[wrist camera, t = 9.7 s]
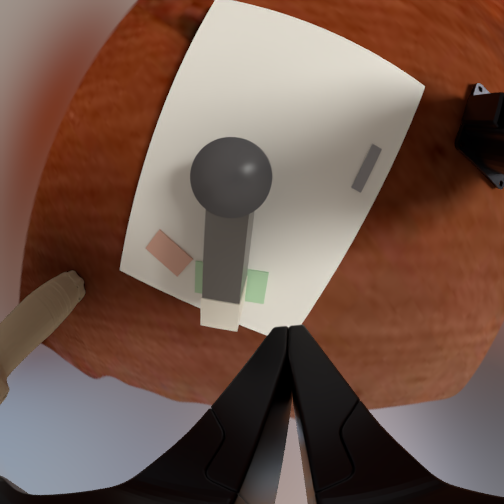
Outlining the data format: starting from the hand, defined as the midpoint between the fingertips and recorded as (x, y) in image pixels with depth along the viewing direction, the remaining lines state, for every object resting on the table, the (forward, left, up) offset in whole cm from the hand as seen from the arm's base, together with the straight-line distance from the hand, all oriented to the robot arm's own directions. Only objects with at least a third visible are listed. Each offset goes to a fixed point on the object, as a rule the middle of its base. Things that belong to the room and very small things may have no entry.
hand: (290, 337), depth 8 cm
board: (+3, -2, -12) cm, 13 cm away
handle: (+16, +14, -12) cm, 25 cm away
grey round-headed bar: (+3, +1, -11) cm, 11 cm away
